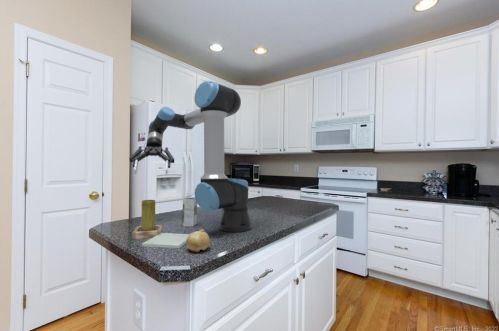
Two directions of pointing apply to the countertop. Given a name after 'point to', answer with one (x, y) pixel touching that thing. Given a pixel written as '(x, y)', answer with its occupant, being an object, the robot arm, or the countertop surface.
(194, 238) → the onion
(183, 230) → the countertop surface
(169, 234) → the tile
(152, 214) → the vase
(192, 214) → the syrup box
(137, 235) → the collar
